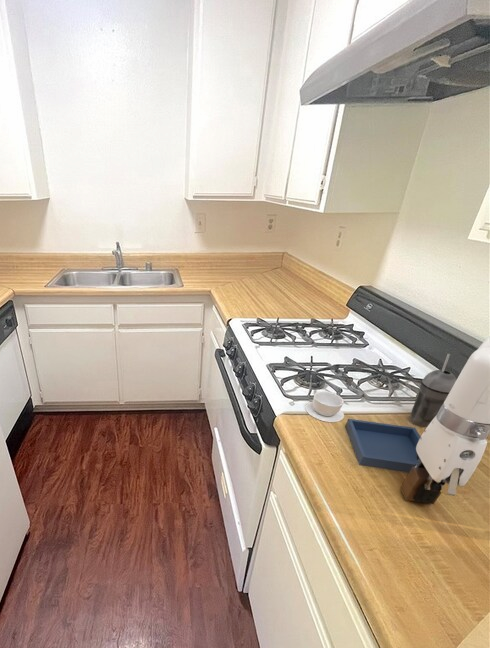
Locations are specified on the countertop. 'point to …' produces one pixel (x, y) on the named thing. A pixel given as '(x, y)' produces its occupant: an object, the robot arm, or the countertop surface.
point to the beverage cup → (431, 396)
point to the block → (415, 483)
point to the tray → (383, 444)
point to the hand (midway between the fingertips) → (418, 493)
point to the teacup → (326, 406)
